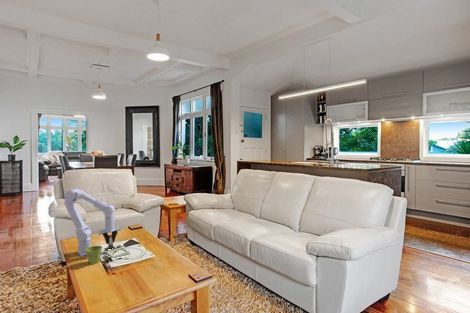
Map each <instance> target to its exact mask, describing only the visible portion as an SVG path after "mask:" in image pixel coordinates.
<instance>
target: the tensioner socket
mask: <svg viewBox="0 0 470 313" xmlns="http://www.w3.org/2000/svg"><path fill="white" fill-rule="evenodd" d="M116 247H117V246H114V245H113V247H112V248H113V249H112V248H108V247H104V249H103V250H104V252H105V251H110V250H108V249H111V250H114V249H117V248H116Z"/></svg>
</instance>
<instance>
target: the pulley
mask: <svg viewBox="0 0 470 313" xmlns="http://www.w3.org/2000/svg"><path fill="white" fill-rule="evenodd" d="M115 247H116V248H121V247H124V248H125V247H126V244H119V245H117V246H115ZM126 248H127V247H126Z"/></svg>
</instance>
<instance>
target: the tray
mask: <svg viewBox="0 0 470 313" xmlns="http://www.w3.org/2000/svg"><path fill="white" fill-rule="evenodd" d="M119 250H123V251H125V253H121V254H118V255H114V256H113V255H112V254H110V253H113V252H115V251H119ZM106 254H107V255H108V256H110V257H111V258H117V257H121V256H126V255H130V254H131V252H130V250H128V249H127V248H126V249H125V248H124V247H121V248H117V249H114V250H110V251H106ZM130 256H131V255H130Z"/></svg>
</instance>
